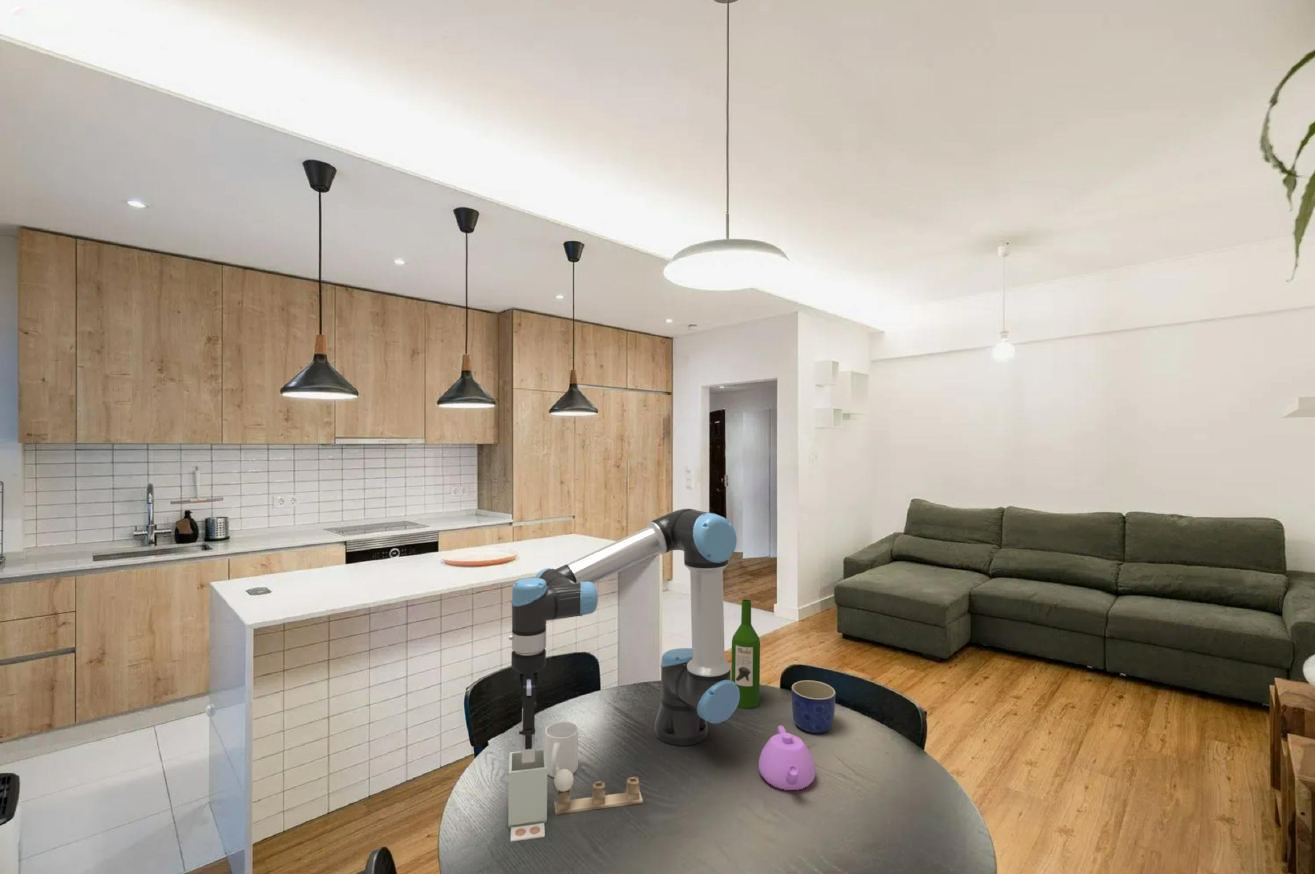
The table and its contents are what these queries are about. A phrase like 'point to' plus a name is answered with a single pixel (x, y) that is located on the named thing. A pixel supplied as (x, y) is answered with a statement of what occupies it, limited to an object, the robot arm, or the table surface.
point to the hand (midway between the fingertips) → (528, 748)
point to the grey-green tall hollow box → (527, 790)
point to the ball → (563, 780)
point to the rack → (599, 798)
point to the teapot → (786, 762)
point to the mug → (561, 747)
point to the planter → (813, 706)
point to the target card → (527, 832)
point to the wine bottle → (746, 660)
